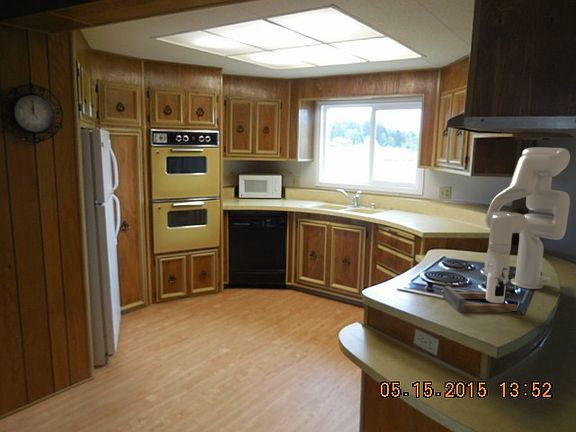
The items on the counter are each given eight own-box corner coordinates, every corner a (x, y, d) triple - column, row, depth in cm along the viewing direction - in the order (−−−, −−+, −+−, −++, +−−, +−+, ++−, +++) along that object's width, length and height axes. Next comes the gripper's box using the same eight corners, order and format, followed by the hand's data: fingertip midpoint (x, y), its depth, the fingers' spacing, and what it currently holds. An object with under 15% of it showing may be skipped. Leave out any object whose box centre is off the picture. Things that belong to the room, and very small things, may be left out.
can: (502, 305, 162) (505, 274, 159) (483, 301, 165) (486, 271, 163) (505, 300, 167) (508, 270, 165) (487, 296, 170) (490, 267, 168)
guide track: (497, 298, 173) (498, 286, 173) (516, 312, 160) (518, 299, 159) (443, 298, 173) (444, 286, 172) (457, 311, 159) (459, 298, 158)
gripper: (478, 241, 171) (474, 285, 174) (501, 253, 154) (496, 301, 157) (497, 242, 171) (493, 285, 174) (522, 253, 154) (516, 301, 157)
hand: (494, 292), depth 166 cm, fingers closed on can, 5 cm apart
